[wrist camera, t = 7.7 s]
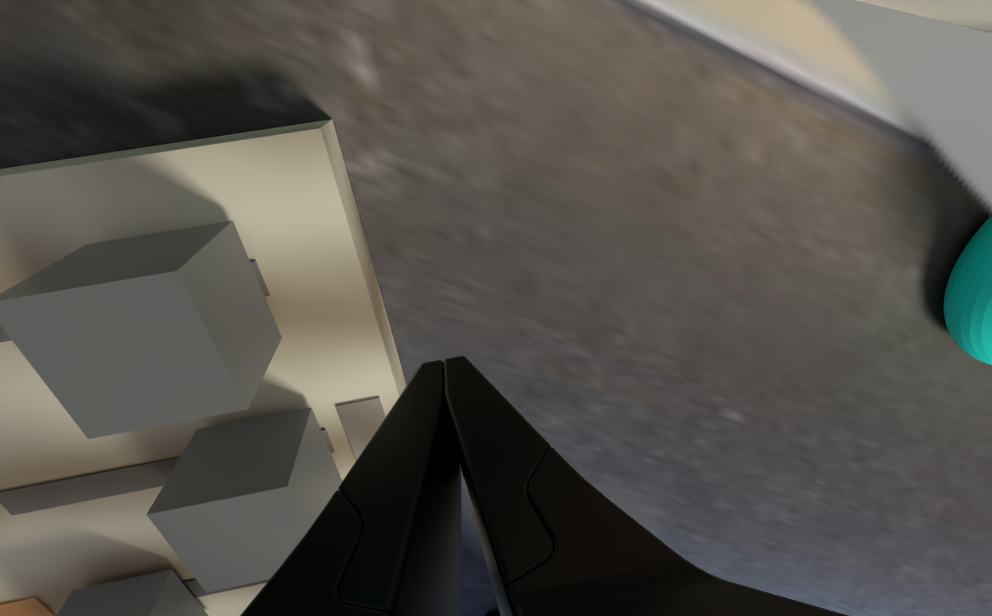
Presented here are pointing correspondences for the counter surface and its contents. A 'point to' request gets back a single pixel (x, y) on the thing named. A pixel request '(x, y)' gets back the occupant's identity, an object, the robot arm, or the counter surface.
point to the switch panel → (156, 450)
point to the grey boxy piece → (134, 598)
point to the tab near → (146, 329)
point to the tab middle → (245, 496)
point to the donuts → (972, 296)
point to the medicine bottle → (946, 11)
